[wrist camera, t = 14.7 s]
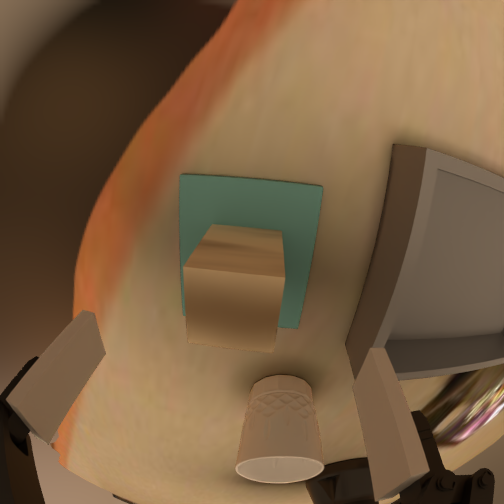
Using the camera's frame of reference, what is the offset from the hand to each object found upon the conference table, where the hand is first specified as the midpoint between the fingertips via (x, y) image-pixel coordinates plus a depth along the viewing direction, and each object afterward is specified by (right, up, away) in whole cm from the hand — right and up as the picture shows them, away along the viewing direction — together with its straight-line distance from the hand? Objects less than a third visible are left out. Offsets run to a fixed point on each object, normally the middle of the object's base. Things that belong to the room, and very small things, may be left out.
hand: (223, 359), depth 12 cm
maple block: (+1, +4, +9) cm, 10 cm away
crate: (+23, +3, +8) cm, 24 cm away
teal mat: (+1, +4, +10) cm, 11 cm away
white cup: (+4, -11, +16) cm, 20 cm away
